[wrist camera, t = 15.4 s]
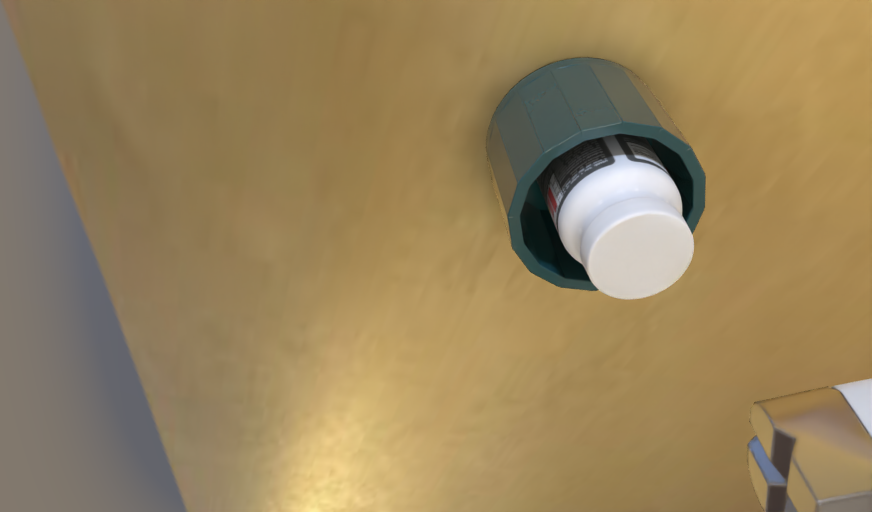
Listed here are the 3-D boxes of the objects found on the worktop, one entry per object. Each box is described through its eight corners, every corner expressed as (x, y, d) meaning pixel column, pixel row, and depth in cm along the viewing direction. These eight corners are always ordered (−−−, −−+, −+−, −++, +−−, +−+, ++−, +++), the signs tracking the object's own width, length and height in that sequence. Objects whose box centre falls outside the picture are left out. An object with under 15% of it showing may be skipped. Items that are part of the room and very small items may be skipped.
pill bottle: (531, 199, 45) (575, 319, 37) (523, 105, 42) (570, 215, 34) (636, 180, 45) (702, 296, 37) (636, 84, 42) (709, 190, 34)
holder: (497, 226, 47) (521, 306, 41) (473, 78, 41) (496, 147, 36) (658, 193, 47) (704, 268, 41) (656, 39, 41) (707, 103, 36)
